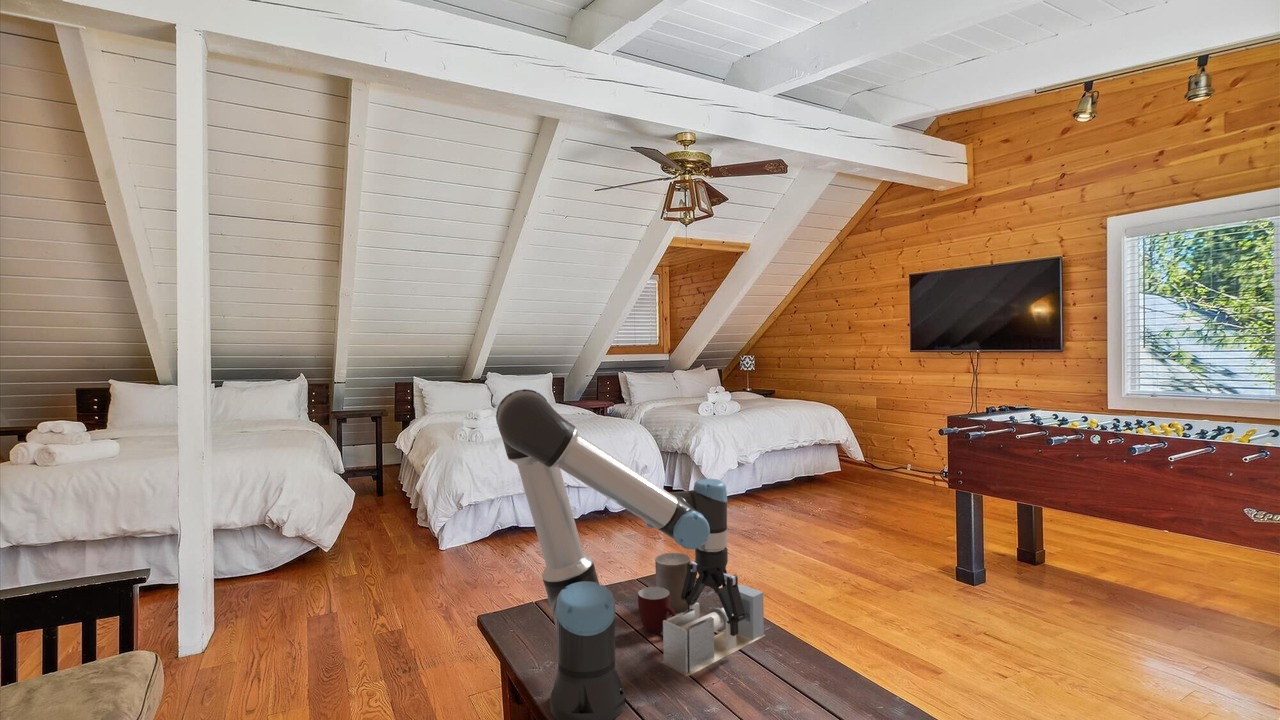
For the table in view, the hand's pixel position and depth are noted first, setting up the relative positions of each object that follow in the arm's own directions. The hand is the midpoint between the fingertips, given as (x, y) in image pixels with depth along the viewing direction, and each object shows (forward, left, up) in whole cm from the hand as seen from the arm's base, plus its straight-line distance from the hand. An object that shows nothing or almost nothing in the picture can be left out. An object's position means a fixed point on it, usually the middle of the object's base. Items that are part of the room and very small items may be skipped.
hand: (712, 639), depth 154 cm
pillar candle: (+11, +24, -4) cm, 27 cm away
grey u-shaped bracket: (-7, 0, -2) cm, 8 cm away
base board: (+1, 0, -3) cm, 3 cm away
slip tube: (-2, 0, +1) cm, 3 cm away
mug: (-2, +16, -4) cm, 17 cm away
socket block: (+13, 0, -2) cm, 13 cm away
